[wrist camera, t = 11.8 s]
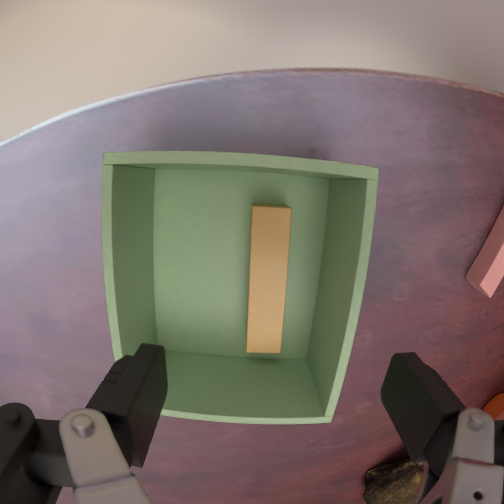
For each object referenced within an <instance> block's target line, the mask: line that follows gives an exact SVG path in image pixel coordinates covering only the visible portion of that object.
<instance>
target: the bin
mask: <svg viewBox="0 0 504 504" xmlns="http://www.w3.org/2000/svg"><path fill="white" fill-rule="evenodd" d="M378 176H379V168H375V167H369V166H362V165H356V164H349V163H342V162H334V161H326V160H318V159H309V158H300V157H289V156H278V155H266V154H252V153H234V152H210V151H129V152H106V153H103V174H102V248H103V267H104V280H105V292H106V302H107V311H108V319H109V327H110V334H111V341H112V347H113V353H114V359H115V362H116V361H117V360H119V359H120V358H122V357H123V356H125V355H132V356H134V354H135V352H136V351H137V349H138V347H139V346H140V344H141V343H148V344H155V345H163V346H164V348H165V357H166V368H167V379H168V390H167V396H166V400H165V403H164V405H163V408H162V411H161V414H160V415H165V416H172V417H179V418H187V419H196V420H205V421H217V422H230V423H249V424H311V423H330V422H331V421H332V418H333V415H334V411H335V408H336V405H337V401H338V398H339V395H340V391H341V388H342V384H343V380H344V377H345V373H346V369H347V365H348V361H349V357H350V353H351V349H352V345H353V340H354V336H355V332H356V327H357V322H358V318H359V313H360V308H361V303H362V298H363V292H364V287H365V281H366V275H367V269H368V263H369V256H370V249H371V242H372V234H373V226H374V218H375V209H376V199H377V188H378V181H377V180H378ZM252 203H264V204H285V205H288V206H289V207H291V208H292V216H291V232H290V247H289V261H288V274H287V287H286V299H285V311H284V322H283V333H282V343H281V352H280V353H247V352H246V333H247V308H248V283H249V258H250V234H251V210H252Z"/></svg>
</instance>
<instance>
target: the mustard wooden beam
mask: <svg viewBox="0 0 504 504" xmlns="http://www.w3.org/2000/svg"><path fill="white" fill-rule="evenodd" d="M291 216H292V208H291V207H289V206H288V205H285V204H264V203H252V210H251V234H250V258H249V283H248V308H247V333H246V352H247V353H280V352H281V343H282V333H283V322H284V311H285V299H286V287H287V274H288V261H289V247H290V232H291Z"/></svg>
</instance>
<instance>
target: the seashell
mask: <svg viewBox="0 0 504 504" xmlns="http://www.w3.org/2000/svg"><path fill="white" fill-rule="evenodd" d="M425 464H426V463H425V461H424V462H421V463H417V464H413V462H412V460H411V458H409V459H406V460H403V461H399V462H396V463H392V464H388V465H384V466H380V467H377V468H375V469H373V470H370V471H368V473H367V475H366V477H367V481H366V484H365V488H366V491H365V495H364V497H363V498H364V500H366V501H367V504H413V502H414V499H415V496H416V493H417V491H418V488H419V485H420V482H421V479H422V476H423V473H424V470H423V466H424V465H425Z"/></svg>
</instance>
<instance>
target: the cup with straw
mask: <svg viewBox="0 0 504 504" xmlns="http://www.w3.org/2000/svg"><path fill="white" fill-rule="evenodd" d="M483 411H485V412H487V413H488V414H489V415H490V416H491V417H492V419H493V420H504V393H500V394H498V395H497V396H495V397H494V398H493V399H492V400H490V401H489V402H488V403H487V405H486V406H485V407H484V408H483Z"/></svg>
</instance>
